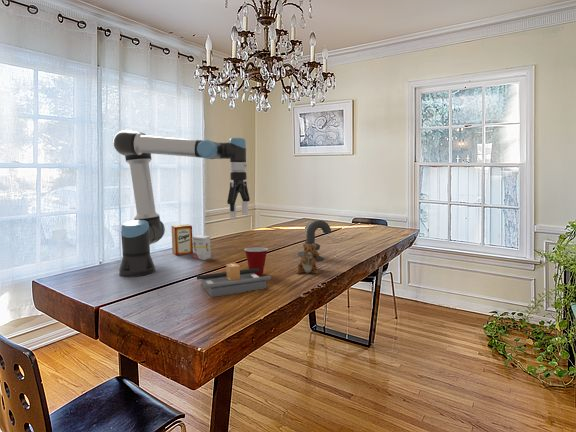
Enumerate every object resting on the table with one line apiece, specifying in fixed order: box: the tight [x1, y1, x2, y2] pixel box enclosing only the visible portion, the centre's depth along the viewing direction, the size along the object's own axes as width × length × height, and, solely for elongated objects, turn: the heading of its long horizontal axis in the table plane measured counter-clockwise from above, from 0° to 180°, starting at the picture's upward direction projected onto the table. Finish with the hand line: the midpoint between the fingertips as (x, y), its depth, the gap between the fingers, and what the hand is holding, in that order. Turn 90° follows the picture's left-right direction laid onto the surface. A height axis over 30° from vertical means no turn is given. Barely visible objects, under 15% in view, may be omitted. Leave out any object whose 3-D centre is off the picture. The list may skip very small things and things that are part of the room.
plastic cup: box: [243, 247, 269, 277], centre depth 170 cm, size 11×11×12 cm
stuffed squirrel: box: [296, 243, 320, 275], centre depth 176 cm, size 10×14×13 cm
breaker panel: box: [200, 273, 267, 298], centre depth 153 cm, size 22×16×3 cm
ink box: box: [192, 234, 212, 261], centre depth 200 cm, size 9×5×12 cm, turn 56°
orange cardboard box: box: [170, 224, 193, 257], centre depth 211 cm, size 10×6×16 cm
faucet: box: [297, 219, 332, 262], centre depth 202 cm, size 18×16×20 cm
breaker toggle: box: [225, 262, 241, 281], centre depth 152 cm, size 4×5×6 cm
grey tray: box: [196, 268, 272, 290], centre depth 152 cm, size 27×15×2 cm, turn 116°
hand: (239, 216), depth 181 cm, fingers open, 13 cm apart
